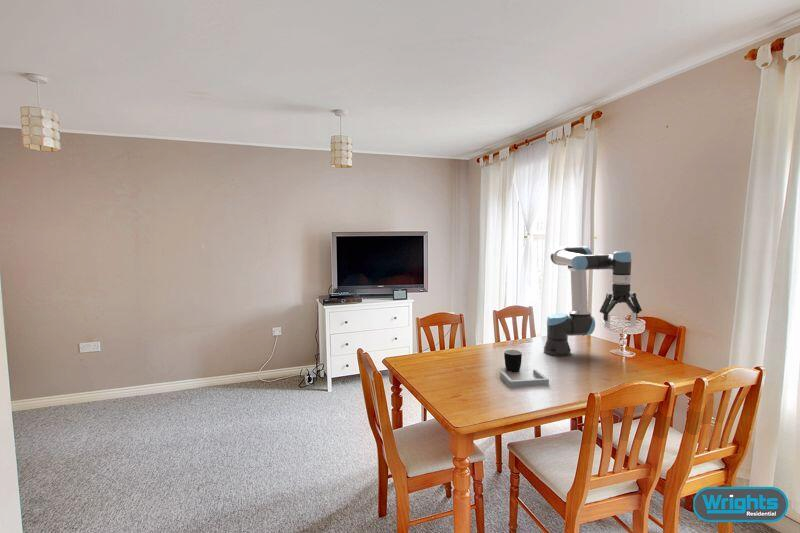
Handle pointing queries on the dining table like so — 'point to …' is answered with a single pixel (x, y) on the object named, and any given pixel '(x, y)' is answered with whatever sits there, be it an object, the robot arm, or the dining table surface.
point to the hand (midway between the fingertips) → (620, 326)
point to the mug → (513, 360)
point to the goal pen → (539, 381)
